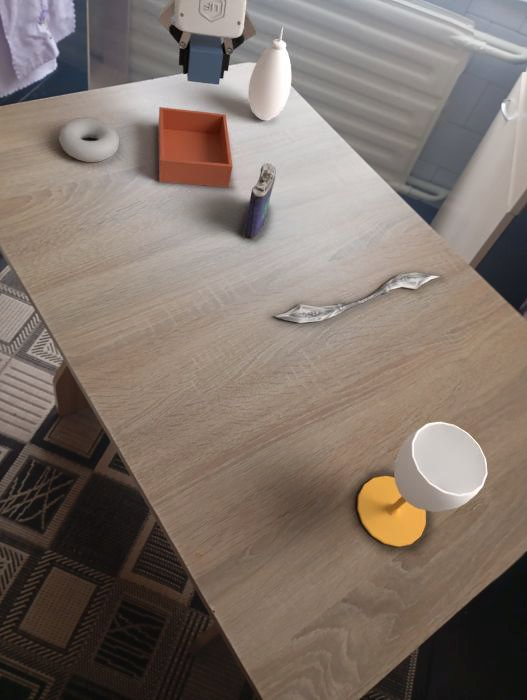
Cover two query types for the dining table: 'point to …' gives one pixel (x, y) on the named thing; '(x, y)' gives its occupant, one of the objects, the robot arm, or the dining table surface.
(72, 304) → the dining table surface
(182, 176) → the bin
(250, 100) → the sauce bottle
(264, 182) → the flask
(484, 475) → the cup
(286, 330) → the dining table surface
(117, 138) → the donut
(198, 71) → the block
